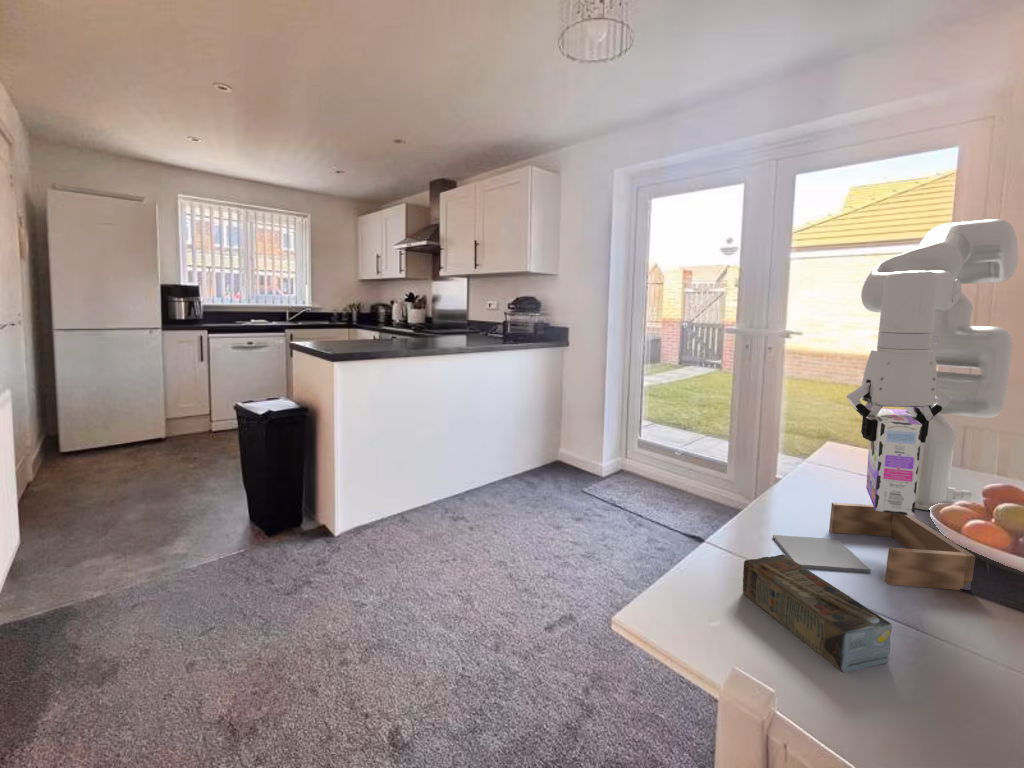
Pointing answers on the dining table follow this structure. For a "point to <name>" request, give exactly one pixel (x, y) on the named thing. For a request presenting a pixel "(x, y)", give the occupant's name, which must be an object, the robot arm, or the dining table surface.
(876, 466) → the candy box
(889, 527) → the bracket
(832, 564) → the mat
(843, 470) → the dining table surface
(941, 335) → the robot arm
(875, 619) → the beverage carton
